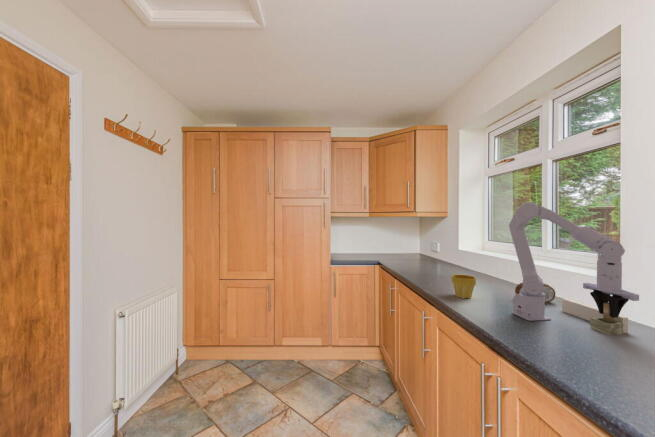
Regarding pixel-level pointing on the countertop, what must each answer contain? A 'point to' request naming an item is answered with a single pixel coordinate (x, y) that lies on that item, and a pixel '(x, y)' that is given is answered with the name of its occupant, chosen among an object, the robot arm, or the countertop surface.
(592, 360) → the countertop surface
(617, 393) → the countertop surface
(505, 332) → the countertop surface
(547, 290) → the tin
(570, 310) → the backstop wall
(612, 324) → the socket block
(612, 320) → the dowel
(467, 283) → the plant pot
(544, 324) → the countertop surface
